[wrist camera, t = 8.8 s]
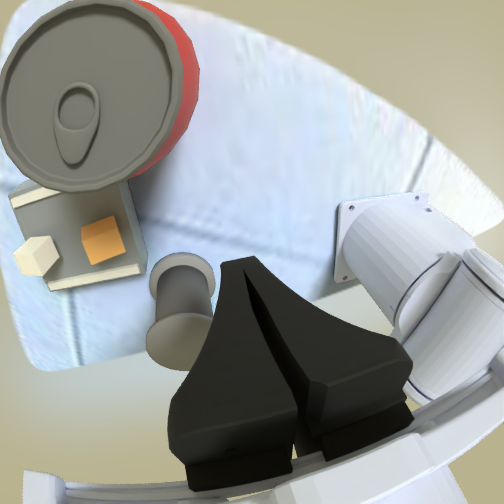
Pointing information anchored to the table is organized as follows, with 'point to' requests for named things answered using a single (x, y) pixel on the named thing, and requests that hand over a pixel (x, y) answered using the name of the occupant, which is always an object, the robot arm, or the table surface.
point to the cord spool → (180, 309)
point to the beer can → (96, 94)
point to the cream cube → (36, 255)
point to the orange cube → (102, 240)
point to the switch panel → (69, 231)
